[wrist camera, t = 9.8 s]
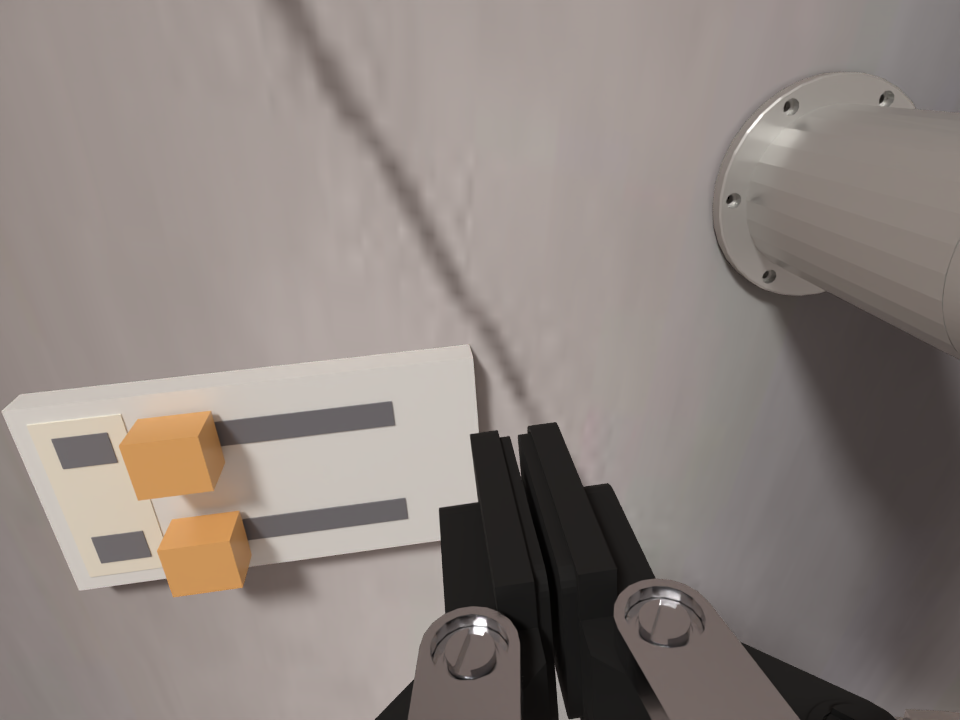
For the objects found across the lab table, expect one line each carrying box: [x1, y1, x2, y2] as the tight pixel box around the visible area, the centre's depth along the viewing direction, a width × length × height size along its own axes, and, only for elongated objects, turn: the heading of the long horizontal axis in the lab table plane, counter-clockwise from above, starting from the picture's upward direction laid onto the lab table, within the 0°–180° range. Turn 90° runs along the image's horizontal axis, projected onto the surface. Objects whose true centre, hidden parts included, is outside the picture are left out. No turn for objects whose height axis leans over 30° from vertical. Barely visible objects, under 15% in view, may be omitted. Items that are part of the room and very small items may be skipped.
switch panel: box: [1, 344, 479, 591], centre depth 40 cm, size 26×13×2 cm, turn 94°
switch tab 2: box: [157, 511, 252, 597], centre depth 39 cm, size 4×4×3 cm
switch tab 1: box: [119, 411, 225, 501], centre depth 36 cm, size 4×4×3 cm
